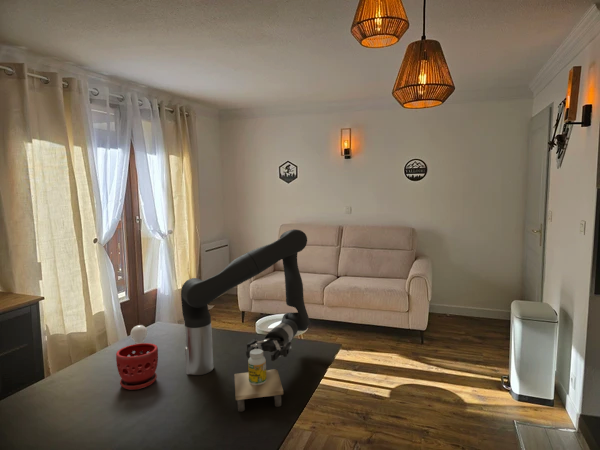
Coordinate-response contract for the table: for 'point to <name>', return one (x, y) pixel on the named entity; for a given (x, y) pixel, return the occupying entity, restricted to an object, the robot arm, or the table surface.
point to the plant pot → (137, 365)
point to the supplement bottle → (257, 367)
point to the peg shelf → (258, 388)
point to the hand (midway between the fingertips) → (259, 356)
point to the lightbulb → (139, 334)
